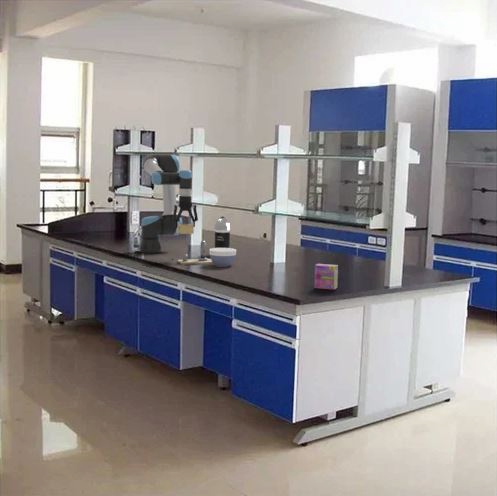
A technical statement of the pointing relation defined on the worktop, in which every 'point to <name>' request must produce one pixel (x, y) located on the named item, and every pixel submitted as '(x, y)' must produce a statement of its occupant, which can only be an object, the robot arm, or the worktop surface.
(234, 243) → the worktop surface
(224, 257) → the bowl
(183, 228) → the brass collar
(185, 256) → the short steel post
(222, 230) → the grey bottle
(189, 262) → the birch board
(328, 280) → the box
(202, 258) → the tall steel post
